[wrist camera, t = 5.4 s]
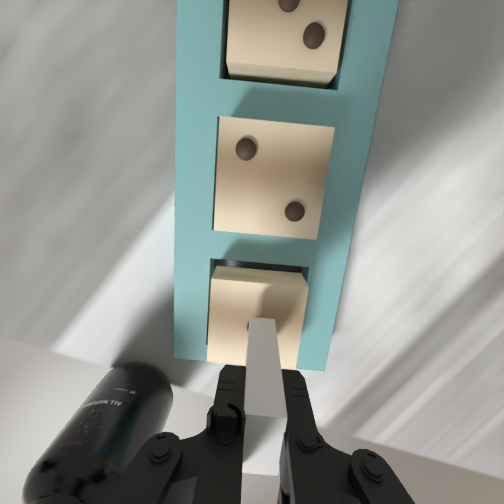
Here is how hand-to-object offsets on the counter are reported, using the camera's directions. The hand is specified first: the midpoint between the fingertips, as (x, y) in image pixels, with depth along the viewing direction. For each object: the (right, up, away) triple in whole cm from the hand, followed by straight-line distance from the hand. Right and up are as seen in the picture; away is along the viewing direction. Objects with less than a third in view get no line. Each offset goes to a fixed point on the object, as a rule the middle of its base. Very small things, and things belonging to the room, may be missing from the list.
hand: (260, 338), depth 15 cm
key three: (+1, +19, 0) cm, 19 cm away
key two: (+1, +10, +1) cm, 10 cm away
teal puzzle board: (+1, +10, +4) cm, 11 cm away
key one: (0, +1, +4) cm, 4 cm away
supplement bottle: (-11, -8, +9) cm, 16 cm away
